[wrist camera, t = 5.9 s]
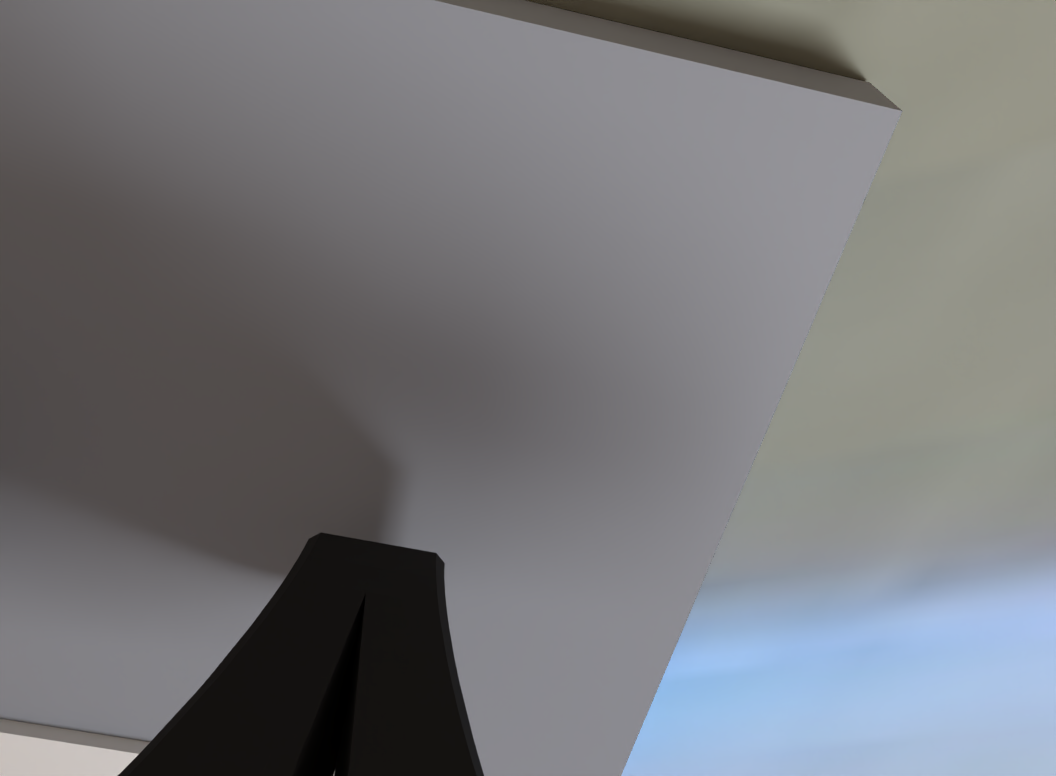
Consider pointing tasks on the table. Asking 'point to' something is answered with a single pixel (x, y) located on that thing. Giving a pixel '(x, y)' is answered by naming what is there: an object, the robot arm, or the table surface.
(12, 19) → the gauge board
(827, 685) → the table surface
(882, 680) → the table surface
